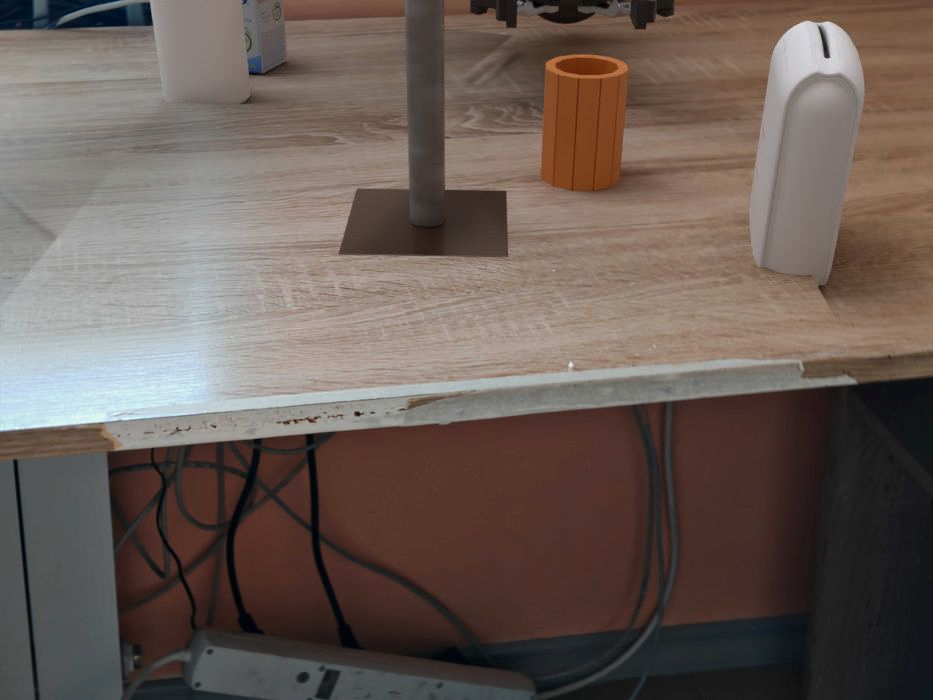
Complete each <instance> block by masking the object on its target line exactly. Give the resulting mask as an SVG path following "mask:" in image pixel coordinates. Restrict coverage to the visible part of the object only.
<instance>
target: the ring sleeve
mask: <svg viewBox="0 0 933 700" xmlns="http://www.w3.org/2000/svg"><path fill="white" fill-rule="evenodd" d="M544 67H545V68H544V87H543V89H544V90H543V109H542V136H541V154H540V155H541V158H540V179H541V180H542V181H544V183H547V184H548V185H550V186H552V187H553V188H557V189H563V190H567V191H574V192H596V191H600V190H605V189H609V188H611V187H613V186H615V185H616V184H618V183H619V182H620V180H621V171H622V170H621V169H622V156H623V145H624V133H625V122H626V110H627V98H628V86H629V73H630V69H629V66H628V64H627V63H626V62H625V61H622V60H620V59H617V58H614V57H611V56H605V55H599V54H595V55H594V54H567V55H559V56H556V57H553V58H551V59H549V60H548V61H546V62H545V66H544Z"/></svg>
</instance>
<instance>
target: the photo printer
mask: <svg viewBox="0 0 933 700" xmlns="http://www.w3.org/2000/svg"><path fill="white" fill-rule="evenodd" d="M860 59H861V58H860V54H859V52H858V49H857V47H856V45H855V44H854V42H853V40H852V39H851V37H850V36H849V35H848V33H847V32H846V31H845V30H844V29H843V28H841V26H839V25H837V24H835V23H834V22H831V21H823V22H813V21H811V20H804V21H802V22H800V23H798V24H796V25H794V26H792V27H791V28H789V29H788V30H787V31H786V32H785V33H784V34H782V36H781V37H780V39H779V40H778V42H776V45H775V47H774V49H773V51H772V55H771V59H770V64H769V72H768V77H767V78H768V80H767V84H766V92H765V98H764V105H763V109H762V110H763V111H762V117H761V123H760V131H759V137H758V144H757V151H756V156H755V164H754V171H753V177H752V178H753V179H752V186H751V192H750V199H749V209H748V210H749V211H748V216H749V217H748V219H749V221H748V223H749V237H750V244H751V252H752V257H753V259H754V262H755V264H756V265H757V267H758V268H760V269H768V270H771V271H773V272H778V273H780V274H783V275H784V274H785V275H789V276H811V277H812V280H813V281H814V283H815V284H816V286H817V287H819V286H825V285H826V284H827V282H828V280H829V277H830V274H831V270H832V266H833V262H834V256H835V251H836V247H837V241H838V237H839V232H840V231H839V230H840V225H841V224H840V223H841V220H842V215H843V209H844V205H845V200H846V194H847V188H848V184H849V179H850V175H851V168H852V163H853V158H854V152H855V147H856V143H857V139H858V133H859V129H860V123H861V119H862V114H863V111H864V103H865V97H866V96H865V95H866V94H865V93H866V90H865V88H866V87H865V77H864V71H863V65H862V62H861V60H860Z"/></svg>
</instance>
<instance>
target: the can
mask: <svg viewBox="0 0 933 700" xmlns="http://www.w3.org/2000/svg"><path fill="white" fill-rule="evenodd" d="M149 4H150V5H149V6H150V12H151V19H152V27H153V34H154V40H155V47H156V54H157V61H158V62H157V63H158V68H159V74H160V81H161V89H162V94H163V99H164V102H165V103H166V104H204V105H205V104H206V105H207V104H211V105H212V104H214V105H223V104H224V105H245V103H247V101H248V99H249V98H250V96H251V85H250V84H251V83H250V72H249V71H248V61H247V50H246V40H245V30H244V20H243V10H242V0H149Z"/></svg>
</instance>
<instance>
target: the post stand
mask: <svg viewBox="0 0 933 700" xmlns="http://www.w3.org/2000/svg"><path fill="white" fill-rule="evenodd" d="M404 28H405V29H404V30H405V31H404V33H405V34H404V35H405V36H404V37H405V73H406V112H407V113H406V114H407V115H406V117H407V120H406V121H407V149H408V150H407V153H408V155H407V156H408V157H407V161H408V162H407V164H408V188H356V190H355V193H354V198H353V200H352V205H351V208H350V211H349V214H348V219H347V222H346V225H345V229H344V233H343V236H342V239H341V242H340V247H339V251H338V256H397V257H402V256H403V257H406V256H407V257H462V258H463V257H467V258H468V257H469V258H509V234H508V197H507V196H508V194H507V190H500V189H499V190H496V189H495V190H493V189H489V190H487V189H485V190H483V189H446V112H445V111H446V105H445V104H446V96H445V95H446V91H445V89H446V82H445V79H446V78H445V76H446V75H445V73H446V71H445V70H446V68H445V67H446V66H445V64H446V63H445V0H404Z"/></svg>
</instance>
